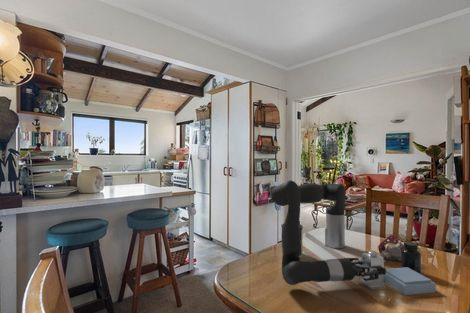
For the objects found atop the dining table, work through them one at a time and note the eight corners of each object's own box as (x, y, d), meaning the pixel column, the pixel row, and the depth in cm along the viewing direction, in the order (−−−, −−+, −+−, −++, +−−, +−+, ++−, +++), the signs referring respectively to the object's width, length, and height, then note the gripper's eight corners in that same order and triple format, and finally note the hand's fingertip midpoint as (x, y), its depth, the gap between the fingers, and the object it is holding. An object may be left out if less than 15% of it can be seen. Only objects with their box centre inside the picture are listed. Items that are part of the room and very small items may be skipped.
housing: (370, 289, 91) (370, 255, 91) (360, 281, 97) (360, 249, 97) (385, 288, 92) (385, 254, 92) (374, 280, 97) (374, 248, 97)
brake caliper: (398, 248, 124) (405, 233, 117) (407, 269, 115) (414, 255, 108) (373, 247, 126) (378, 232, 119) (380, 268, 117) (386, 253, 110)
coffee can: (296, 259, 117) (296, 229, 117) (277, 254, 124) (277, 225, 124) (306, 253, 125) (306, 225, 125) (288, 248, 132) (288, 221, 132)
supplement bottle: (418, 270, 105) (417, 241, 105) (424, 277, 99) (424, 247, 99) (399, 268, 108) (398, 240, 108) (404, 275, 101) (403, 245, 101)
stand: (404, 295, 87) (404, 283, 87) (380, 278, 99) (380, 268, 99) (435, 292, 88) (435, 280, 88) (407, 276, 100) (407, 266, 100)
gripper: (348, 268, 85) (393, 264, 87) (327, 252, 99) (366, 249, 102) (348, 290, 85) (393, 286, 87) (327, 271, 99) (366, 268, 102)
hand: (378, 266), depth 94 cm, fingers open, 6 cm apart
